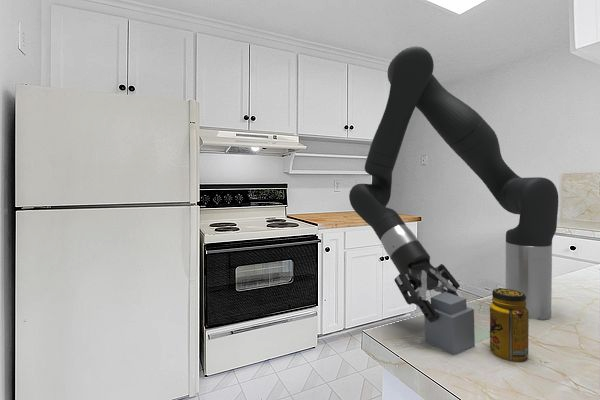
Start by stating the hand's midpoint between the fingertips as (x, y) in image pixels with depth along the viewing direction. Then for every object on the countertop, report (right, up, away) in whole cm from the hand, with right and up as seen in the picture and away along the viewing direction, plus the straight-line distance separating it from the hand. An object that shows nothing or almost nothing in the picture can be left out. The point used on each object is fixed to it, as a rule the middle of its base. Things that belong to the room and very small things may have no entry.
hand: (449, 315), depth 63 cm
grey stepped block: (0, -6, 0) cm, 6 cm away
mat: (+5, -6, +6) cm, 10 cm away
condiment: (+10, -6, -4) cm, 13 cm away
